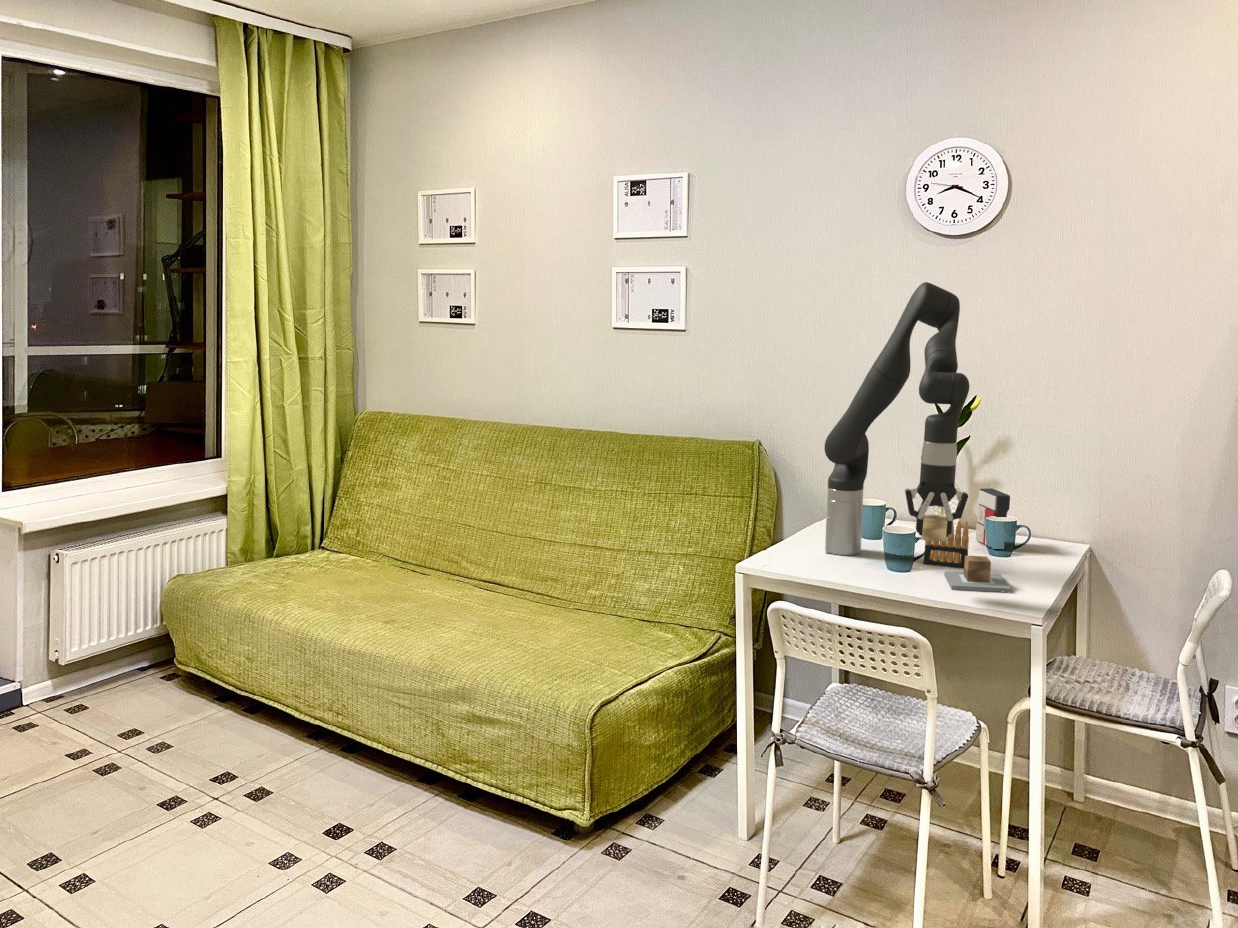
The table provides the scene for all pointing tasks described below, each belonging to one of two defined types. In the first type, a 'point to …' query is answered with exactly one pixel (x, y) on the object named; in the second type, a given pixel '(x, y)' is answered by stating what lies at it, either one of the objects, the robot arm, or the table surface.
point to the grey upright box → (990, 509)
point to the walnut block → (977, 569)
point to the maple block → (934, 527)
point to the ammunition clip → (948, 549)
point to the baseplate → (976, 583)
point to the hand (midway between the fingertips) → (933, 535)
